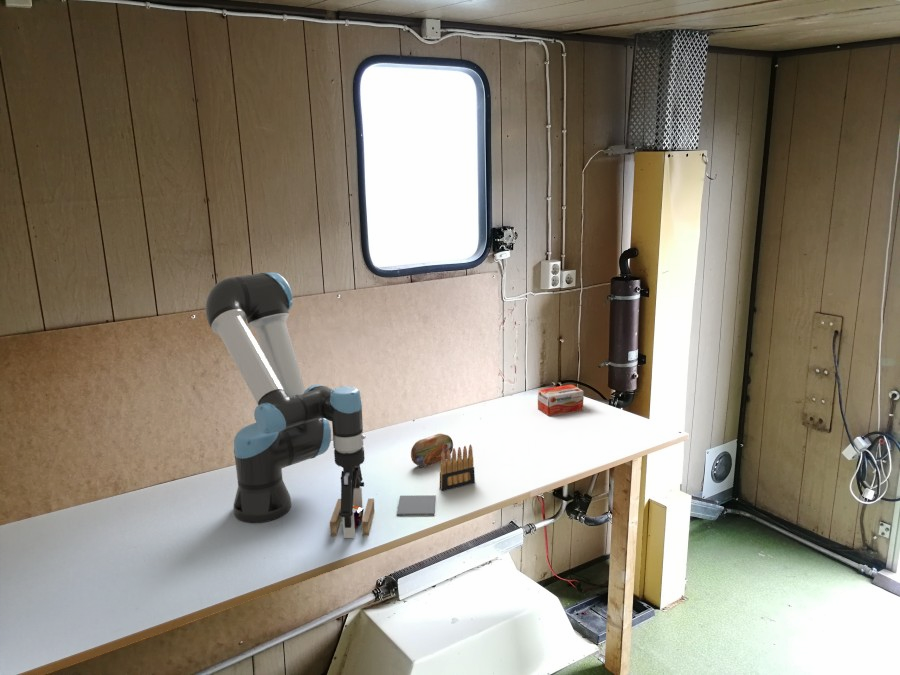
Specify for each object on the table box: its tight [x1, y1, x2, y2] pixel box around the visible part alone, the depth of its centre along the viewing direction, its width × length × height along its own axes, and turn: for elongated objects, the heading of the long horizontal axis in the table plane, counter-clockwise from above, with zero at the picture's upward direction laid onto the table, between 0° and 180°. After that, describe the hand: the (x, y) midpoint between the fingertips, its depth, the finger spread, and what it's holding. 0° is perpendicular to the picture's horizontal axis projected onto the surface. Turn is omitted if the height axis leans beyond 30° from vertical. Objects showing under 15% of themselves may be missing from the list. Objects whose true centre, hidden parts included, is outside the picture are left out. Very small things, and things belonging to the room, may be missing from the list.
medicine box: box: [537, 383, 584, 417], centre depth 255 cm, size 15×8×8 cm, turn 112°
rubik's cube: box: [342, 505, 365, 528], centre depth 178 cm, size 4×5×5 cm
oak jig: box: [329, 498, 375, 537], centre depth 178 cm, size 10×12×4 cm
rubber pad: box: [396, 494, 437, 517], centre depth 187 cm, size 10×10×1 cm
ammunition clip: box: [439, 444, 476, 492], centre depth 197 cm, size 11×2×12 cm, turn 117°
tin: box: [410, 433, 454, 468], centre depth 213 cm, size 15×3×8 cm, turn 129°
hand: (353, 523), depth 179 cm, fingers open, 13 cm apart
